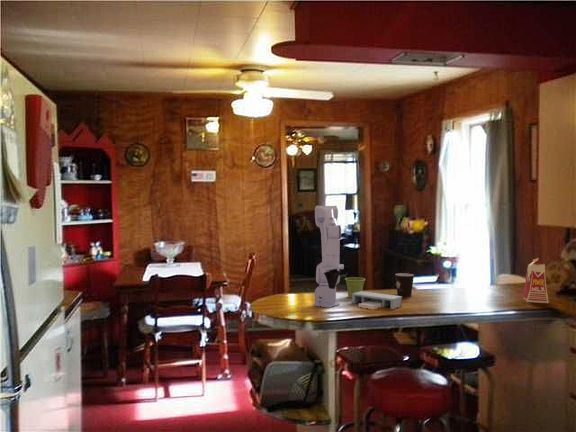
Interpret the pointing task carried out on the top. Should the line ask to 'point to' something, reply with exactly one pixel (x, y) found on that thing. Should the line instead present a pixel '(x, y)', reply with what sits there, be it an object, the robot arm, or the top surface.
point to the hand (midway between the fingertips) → (332, 288)
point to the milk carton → (536, 283)
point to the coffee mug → (404, 284)
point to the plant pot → (354, 285)
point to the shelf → (378, 298)
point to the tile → (371, 304)
